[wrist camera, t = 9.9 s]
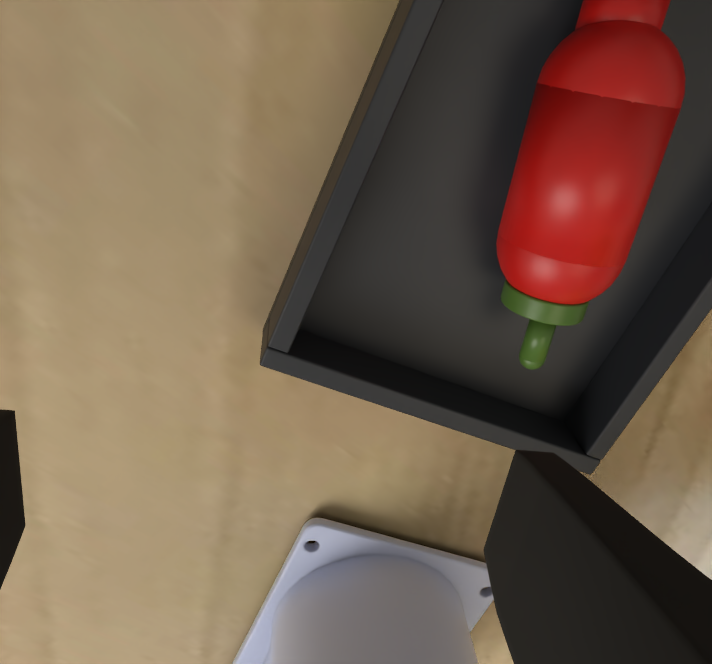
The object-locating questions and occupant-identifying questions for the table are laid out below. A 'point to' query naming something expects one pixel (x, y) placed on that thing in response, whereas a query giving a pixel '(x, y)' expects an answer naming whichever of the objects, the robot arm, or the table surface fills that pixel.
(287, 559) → the robot arm
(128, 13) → the table surface
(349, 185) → the tray
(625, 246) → the chili
